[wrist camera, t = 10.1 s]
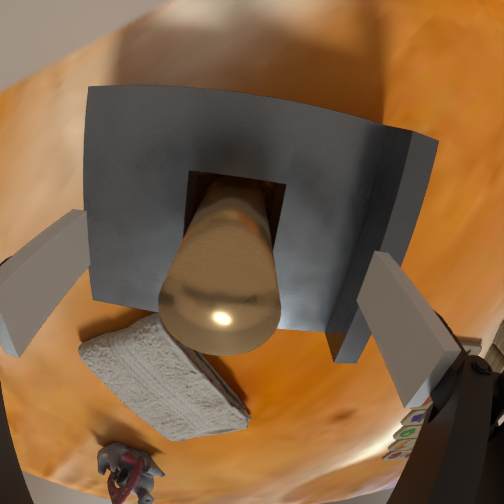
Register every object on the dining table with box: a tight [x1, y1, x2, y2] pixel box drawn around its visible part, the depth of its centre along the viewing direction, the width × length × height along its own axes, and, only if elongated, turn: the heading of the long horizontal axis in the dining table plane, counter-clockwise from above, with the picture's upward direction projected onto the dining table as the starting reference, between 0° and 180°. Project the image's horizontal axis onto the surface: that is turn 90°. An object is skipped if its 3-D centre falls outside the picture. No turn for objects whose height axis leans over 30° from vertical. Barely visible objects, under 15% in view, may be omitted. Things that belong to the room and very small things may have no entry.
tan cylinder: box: [158, 175, 281, 356], centre depth 15 cm, size 4×4×12 cm
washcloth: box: [78, 312, 251, 441], centre depth 28 cm, size 12×18×3 cm, turn 26°
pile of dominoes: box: [382, 321, 504, 461], centre depth 32 cm, size 35×27×6 cm
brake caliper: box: [97, 442, 165, 504], centre depth 35 cm, size 11×11×12 cm
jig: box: [83, 85, 439, 363], centre depth 17 cm, size 18×14×7 cm
